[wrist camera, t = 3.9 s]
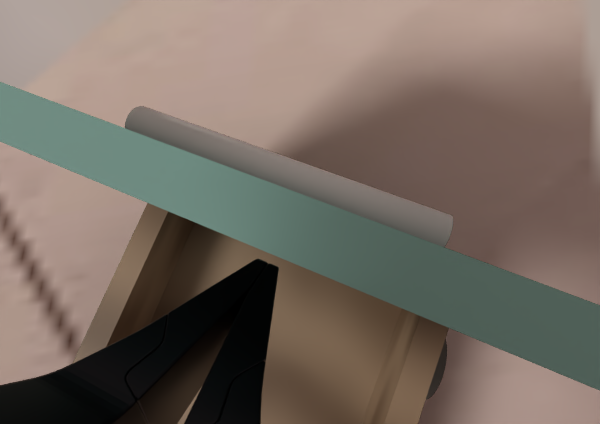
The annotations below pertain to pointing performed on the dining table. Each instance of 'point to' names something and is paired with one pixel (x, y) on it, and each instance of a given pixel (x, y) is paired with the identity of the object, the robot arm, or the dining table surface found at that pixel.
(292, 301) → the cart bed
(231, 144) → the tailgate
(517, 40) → the dining table surface
